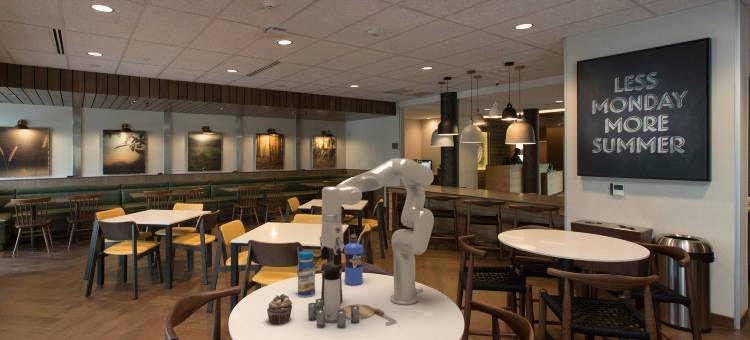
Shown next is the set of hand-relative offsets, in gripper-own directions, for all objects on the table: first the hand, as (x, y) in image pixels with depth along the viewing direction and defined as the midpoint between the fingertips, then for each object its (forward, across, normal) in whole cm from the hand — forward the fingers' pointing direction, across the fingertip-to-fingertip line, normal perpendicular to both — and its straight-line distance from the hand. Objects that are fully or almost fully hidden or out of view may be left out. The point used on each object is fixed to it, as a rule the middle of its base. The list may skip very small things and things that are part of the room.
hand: (331, 261), depth 156 cm
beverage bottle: (+23, +33, -6) cm, 41 cm away
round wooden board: (+23, +1, -13) cm, 26 cm away
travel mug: (+23, 0, -1) cm, 23 cm away
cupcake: (+24, +12, +16) cm, 31 cm away
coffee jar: (+23, +16, -10) cm, 30 cm away
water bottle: (+23, +34, -33) cm, 52 cm away
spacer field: (+23, 0, -1) cm, 23 cm away
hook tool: (+23, -11, -17) cm, 30 cm away
